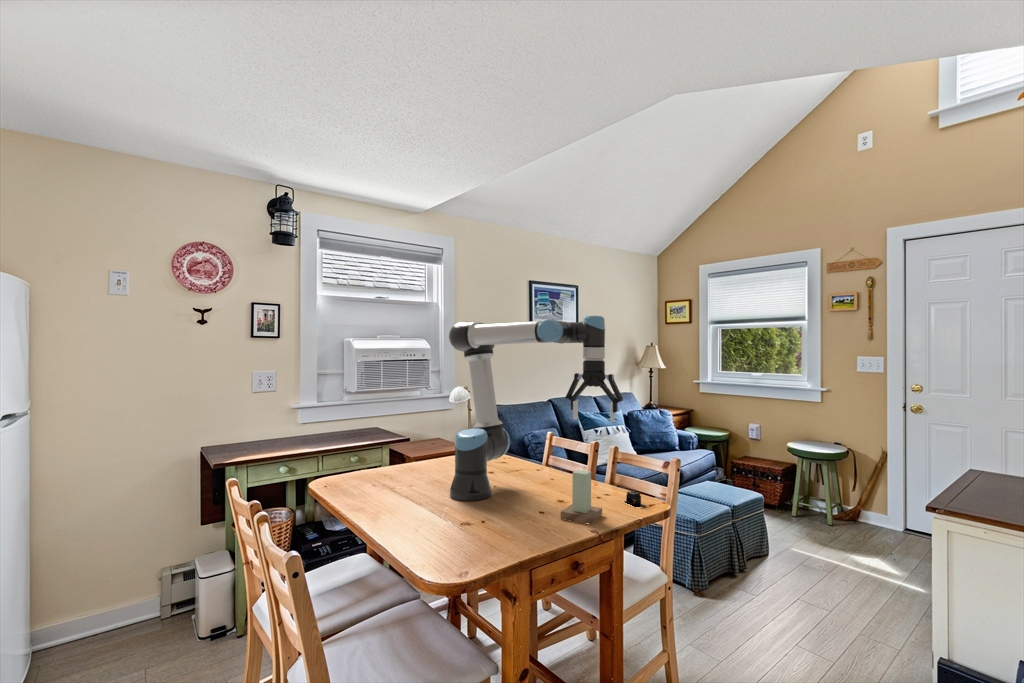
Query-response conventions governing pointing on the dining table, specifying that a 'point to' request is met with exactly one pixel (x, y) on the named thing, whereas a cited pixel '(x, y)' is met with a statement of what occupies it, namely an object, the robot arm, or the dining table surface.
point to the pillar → (581, 491)
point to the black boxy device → (633, 496)
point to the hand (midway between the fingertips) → (593, 420)
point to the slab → (581, 515)
